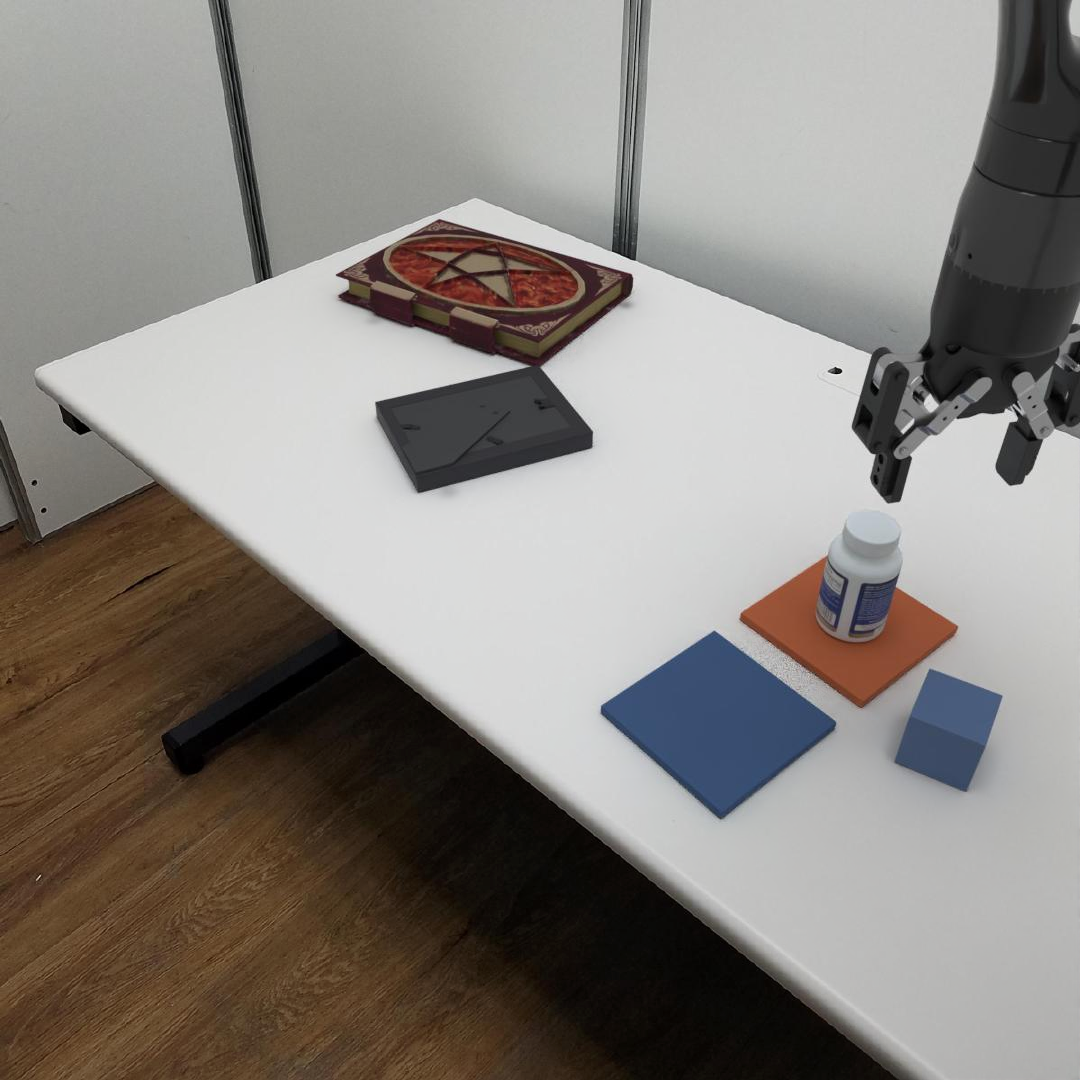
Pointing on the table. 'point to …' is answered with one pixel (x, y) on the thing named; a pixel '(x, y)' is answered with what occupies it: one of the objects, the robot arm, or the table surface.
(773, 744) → the blue mat
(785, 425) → the table surface
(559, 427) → the picture frame
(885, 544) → the pill bottle
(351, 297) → the book
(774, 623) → the terracotta mat
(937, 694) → the blue block
